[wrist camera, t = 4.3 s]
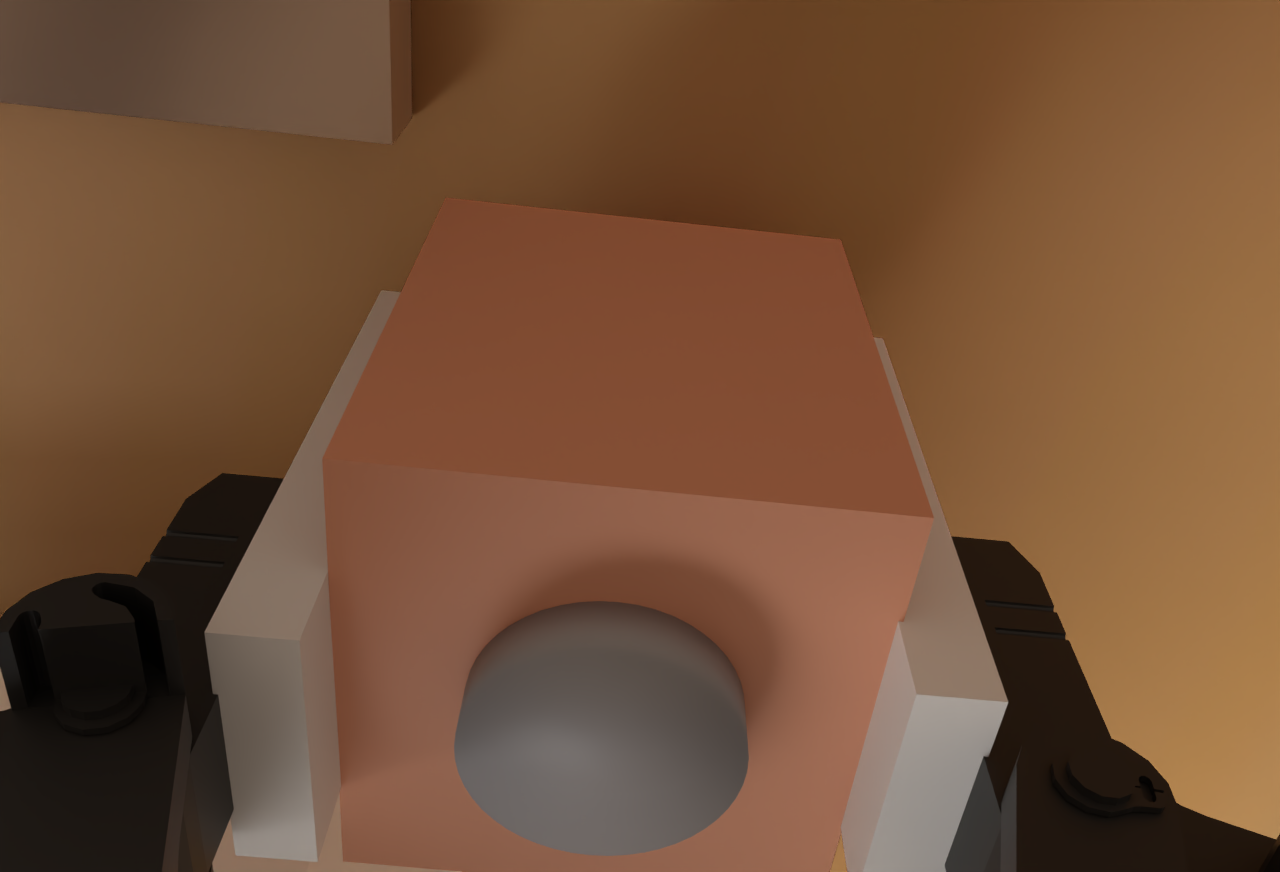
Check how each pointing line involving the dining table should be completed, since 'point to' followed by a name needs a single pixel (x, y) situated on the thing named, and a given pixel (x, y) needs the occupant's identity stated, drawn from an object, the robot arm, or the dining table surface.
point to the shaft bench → (216, 62)
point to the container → (244, 868)
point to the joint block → (614, 549)
